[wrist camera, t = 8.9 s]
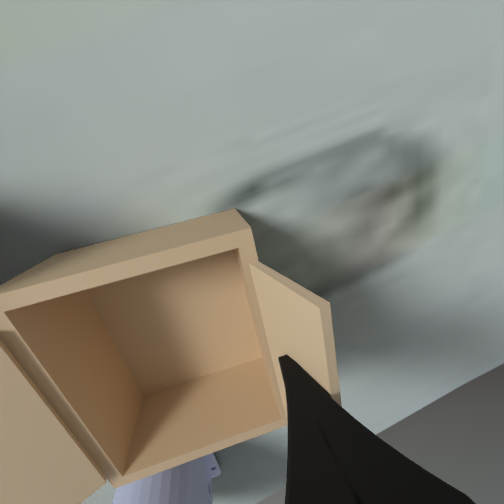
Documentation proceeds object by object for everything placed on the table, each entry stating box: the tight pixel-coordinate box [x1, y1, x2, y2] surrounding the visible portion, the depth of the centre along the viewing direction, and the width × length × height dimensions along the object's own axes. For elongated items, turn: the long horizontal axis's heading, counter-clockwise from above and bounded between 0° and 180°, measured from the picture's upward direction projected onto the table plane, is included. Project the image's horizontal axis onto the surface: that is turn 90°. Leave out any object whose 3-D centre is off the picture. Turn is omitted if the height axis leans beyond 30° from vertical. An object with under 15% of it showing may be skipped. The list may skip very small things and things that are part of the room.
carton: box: [0, 209, 288, 489], centre depth 16 cm, size 14×12×6 cm
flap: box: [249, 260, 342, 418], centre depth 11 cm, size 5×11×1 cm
